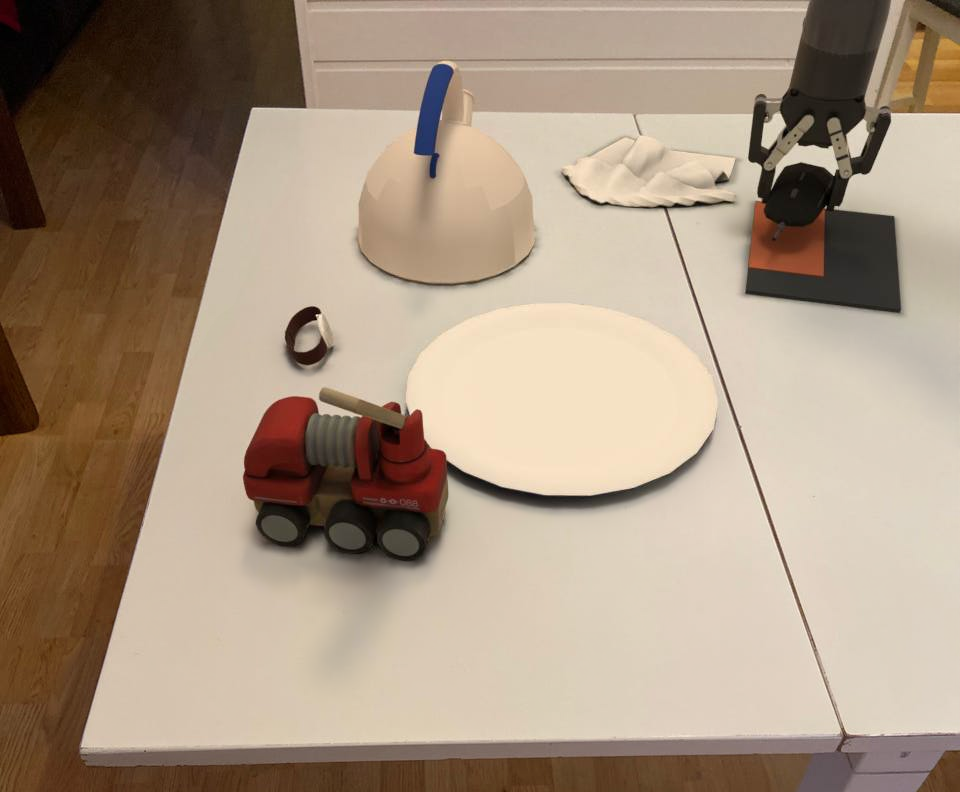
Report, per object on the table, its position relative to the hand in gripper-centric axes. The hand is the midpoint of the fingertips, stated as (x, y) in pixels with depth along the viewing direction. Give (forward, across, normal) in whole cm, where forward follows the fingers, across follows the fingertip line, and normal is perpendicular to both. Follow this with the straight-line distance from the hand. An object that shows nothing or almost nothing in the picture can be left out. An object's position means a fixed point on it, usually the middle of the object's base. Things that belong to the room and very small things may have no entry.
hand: (797, 203), depth 106 cm
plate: (+5, -20, -35) cm, 41 cm away
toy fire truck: (+5, -34, -56) cm, 66 cm away
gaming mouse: (+1, 0, 0) cm, 1 cm away
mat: (+4, +4, -2) cm, 6 cm away
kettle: (+5, -38, -8) cm, 39 cm away
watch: (+5, -46, -32) cm, 56 cm away
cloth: (+5, -16, +12) cm, 21 cm away
